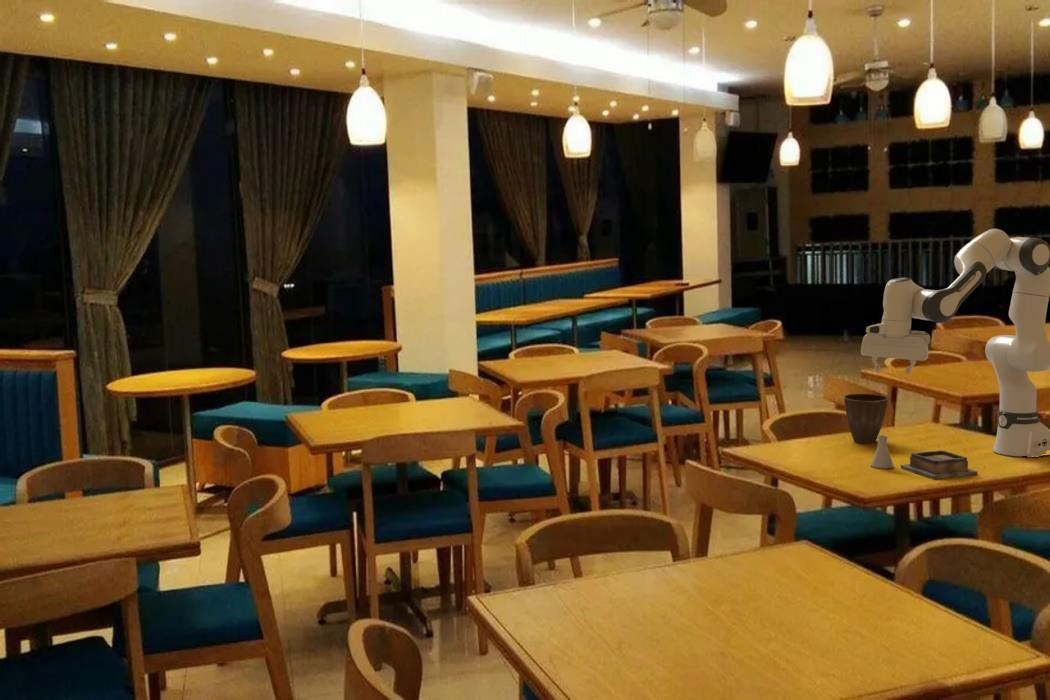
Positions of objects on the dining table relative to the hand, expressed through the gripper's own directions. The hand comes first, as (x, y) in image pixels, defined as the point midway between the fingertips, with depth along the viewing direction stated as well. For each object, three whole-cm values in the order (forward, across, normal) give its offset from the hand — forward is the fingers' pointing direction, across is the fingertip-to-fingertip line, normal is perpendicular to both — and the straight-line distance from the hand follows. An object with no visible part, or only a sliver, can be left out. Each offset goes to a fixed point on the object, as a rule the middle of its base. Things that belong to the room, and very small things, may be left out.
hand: (892, 372), depth 335 cm
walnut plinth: (+30, -16, +1) cm, 34 cm away
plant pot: (+30, +14, -34) cm, 48 cm away
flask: (+31, +1, +1) cm, 31 cm away
